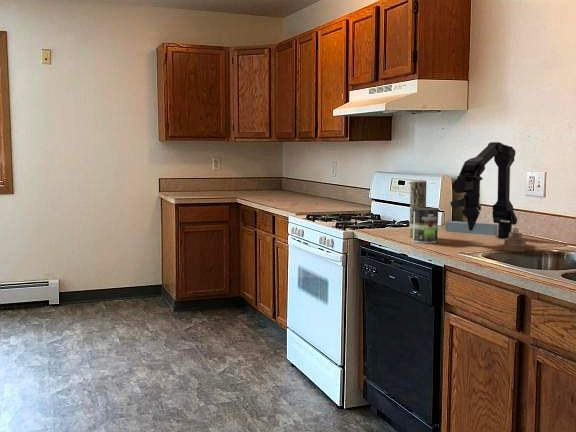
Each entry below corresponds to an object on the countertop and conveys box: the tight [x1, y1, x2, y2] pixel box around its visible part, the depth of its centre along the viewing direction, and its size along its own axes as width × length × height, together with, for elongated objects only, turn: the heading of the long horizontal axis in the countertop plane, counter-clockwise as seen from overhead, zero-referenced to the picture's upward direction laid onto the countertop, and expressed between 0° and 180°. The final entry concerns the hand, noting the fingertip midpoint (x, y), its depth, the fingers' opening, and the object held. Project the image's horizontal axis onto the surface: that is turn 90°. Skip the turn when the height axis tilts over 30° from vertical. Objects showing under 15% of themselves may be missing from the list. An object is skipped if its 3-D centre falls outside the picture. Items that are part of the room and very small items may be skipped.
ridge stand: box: [503, 227, 527, 252], centre depth 252 cm, size 18×8×6 cm, turn 160°
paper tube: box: [409, 179, 427, 238], centre depth 277 cm, size 7×7×25 cm
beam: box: [445, 220, 498, 236], centre depth 258 cm, size 4×20×4 cm, turn 57°
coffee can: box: [412, 206, 440, 244], centre depth 266 cm, size 10×10×14 cm
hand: (471, 229), depth 258 cm, fingers closed on beam, 4 cm apart
